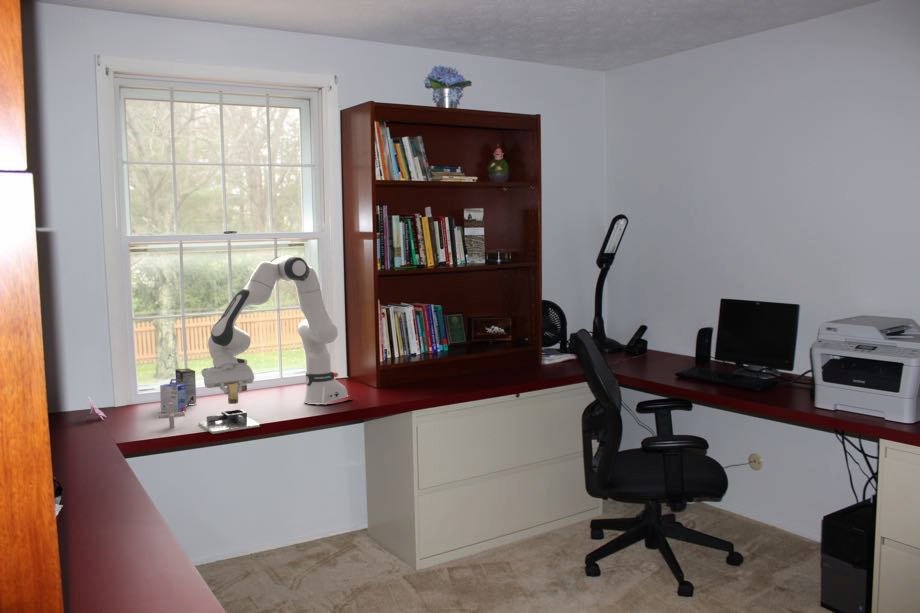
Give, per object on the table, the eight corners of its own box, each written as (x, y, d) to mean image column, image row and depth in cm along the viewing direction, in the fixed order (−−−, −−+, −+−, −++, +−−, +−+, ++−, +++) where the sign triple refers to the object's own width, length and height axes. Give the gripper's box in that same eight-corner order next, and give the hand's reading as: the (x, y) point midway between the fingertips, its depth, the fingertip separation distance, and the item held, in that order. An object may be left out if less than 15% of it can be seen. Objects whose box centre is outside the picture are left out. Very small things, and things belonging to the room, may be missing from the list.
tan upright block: (236, 401, 309) (235, 382, 308) (239, 403, 306) (239, 383, 305) (227, 402, 307) (226, 383, 306) (230, 404, 304) (229, 385, 303)
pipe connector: (184, 423, 307) (183, 399, 306) (185, 428, 298) (184, 404, 297) (158, 425, 303) (157, 401, 302) (158, 431, 294) (157, 406, 293)
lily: (92, 427, 307) (104, 405, 309) (68, 415, 308) (80, 394, 310) (106, 429, 318) (117, 408, 320) (83, 417, 320) (94, 397, 322)
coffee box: (176, 403, 346) (174, 369, 345) (190, 401, 350) (188, 367, 349) (182, 406, 339) (181, 372, 337) (196, 404, 343) (195, 370, 341)
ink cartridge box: (187, 411, 330) (185, 379, 328) (178, 413, 324) (177, 381, 323) (169, 409, 333) (167, 378, 332) (160, 412, 328) (158, 380, 326)
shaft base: (243, 417, 315) (243, 407, 315) (259, 426, 300) (259, 415, 300) (198, 424, 304) (198, 413, 304) (212, 433, 289) (211, 422, 289)
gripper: (201, 363, 305) (209, 391, 297) (250, 359, 316) (259, 385, 309) (198, 373, 309) (206, 400, 301) (246, 368, 320) (255, 394, 313)
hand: (233, 392), depth 305 cm, fingers closed on tan upright block, 4 cm apart
